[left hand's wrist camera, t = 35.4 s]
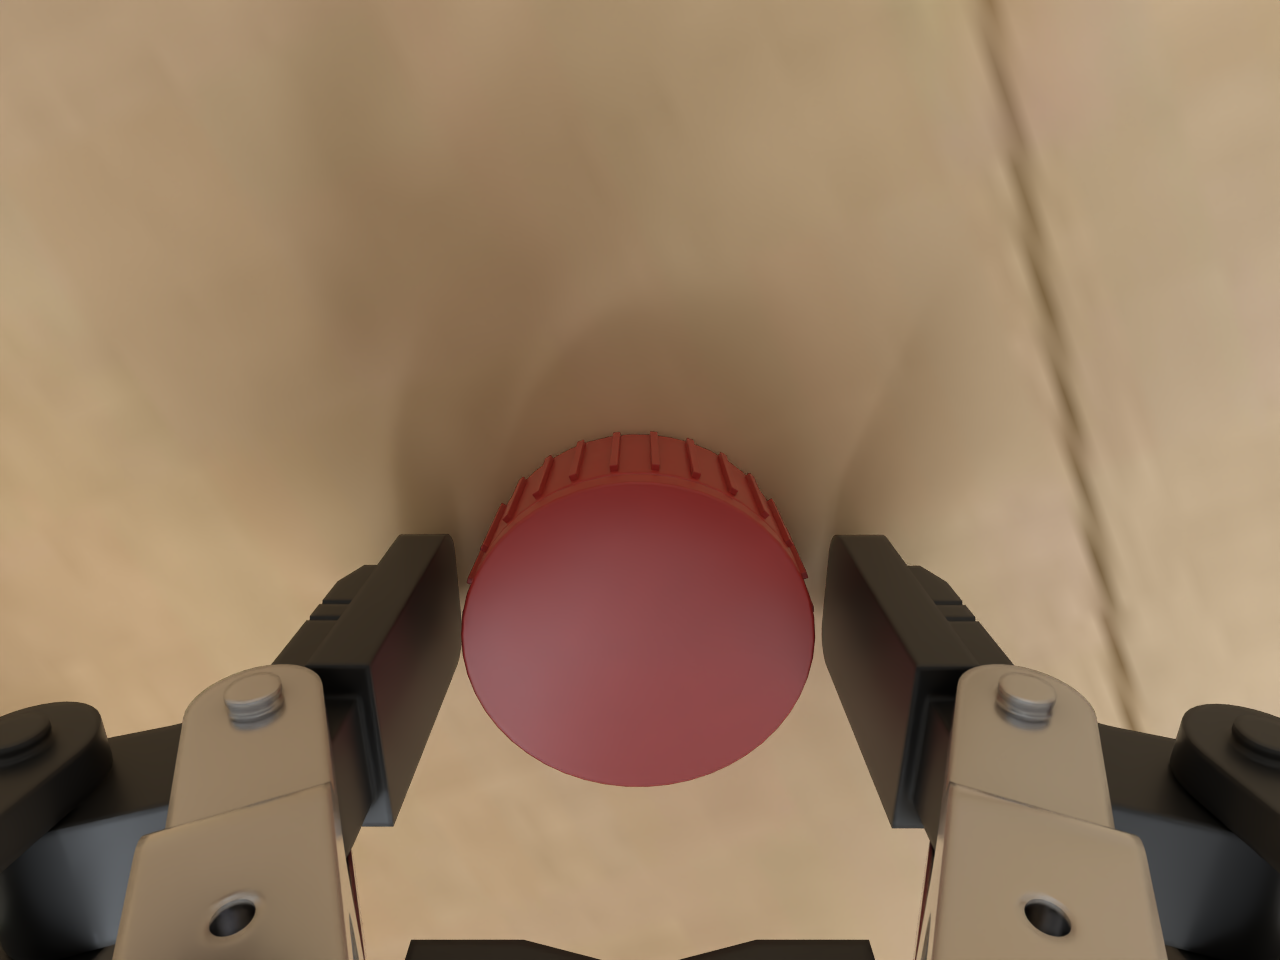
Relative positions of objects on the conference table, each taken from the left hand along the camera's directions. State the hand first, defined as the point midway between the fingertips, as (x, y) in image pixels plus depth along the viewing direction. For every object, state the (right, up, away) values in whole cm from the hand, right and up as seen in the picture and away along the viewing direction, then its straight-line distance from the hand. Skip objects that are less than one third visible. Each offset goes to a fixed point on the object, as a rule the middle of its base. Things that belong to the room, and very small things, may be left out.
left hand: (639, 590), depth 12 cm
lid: (0, 0, -1) cm, 1 cm away
